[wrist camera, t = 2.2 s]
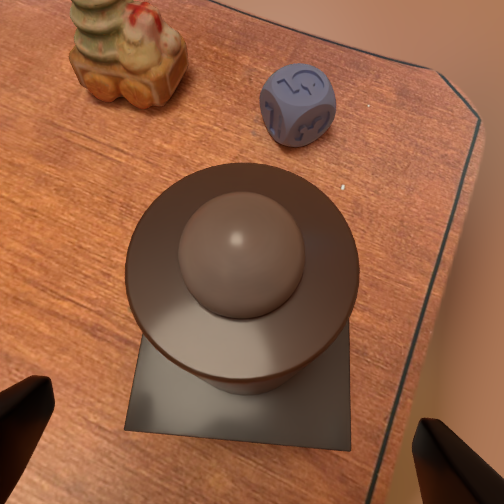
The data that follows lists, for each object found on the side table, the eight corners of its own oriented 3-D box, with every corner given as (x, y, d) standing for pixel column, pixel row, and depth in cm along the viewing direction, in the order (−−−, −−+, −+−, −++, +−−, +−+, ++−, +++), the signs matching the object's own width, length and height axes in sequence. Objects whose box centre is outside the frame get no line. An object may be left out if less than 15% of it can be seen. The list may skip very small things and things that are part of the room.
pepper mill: (288, 416, 13) (343, 428, 5) (160, 366, 14) (37, 311, 6) (325, 289, 15) (409, 156, 7) (211, 251, 16) (169, 88, 8)
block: (315, 435, 20) (351, 452, 13) (169, 422, 21) (123, 430, 13) (317, 294, 23) (347, 241, 16) (190, 283, 24) (163, 227, 16)
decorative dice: (258, 117, 29) (259, 74, 25) (303, 99, 29) (310, 54, 26) (283, 155, 27) (288, 116, 24) (330, 135, 28) (342, 93, 24)
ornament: (196, 62, 31) (173, -85, 22) (177, 119, 29) (142, -18, 19) (105, 49, 32) (44, -99, 22) (79, 104, 29) (-1, -36, 20)
